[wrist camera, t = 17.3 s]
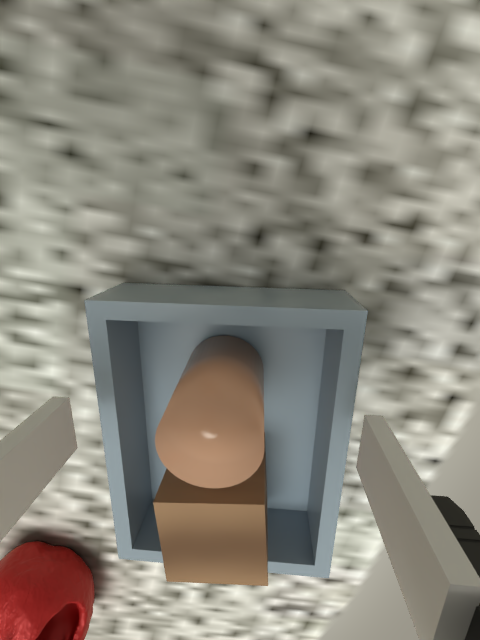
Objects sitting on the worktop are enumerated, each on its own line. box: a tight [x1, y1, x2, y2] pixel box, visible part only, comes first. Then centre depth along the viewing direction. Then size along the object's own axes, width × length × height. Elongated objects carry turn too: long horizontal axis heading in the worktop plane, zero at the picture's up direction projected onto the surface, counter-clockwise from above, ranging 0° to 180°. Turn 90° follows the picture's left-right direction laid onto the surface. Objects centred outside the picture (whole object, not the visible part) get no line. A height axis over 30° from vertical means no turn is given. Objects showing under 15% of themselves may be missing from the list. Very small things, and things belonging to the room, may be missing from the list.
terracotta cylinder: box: [155, 335, 265, 488], centre depth 18 cm, size 5×5×7 cm
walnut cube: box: [153, 432, 268, 586], centre depth 21 cm, size 6×6×6 cm
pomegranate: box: [0, 541, 95, 640], centre depth 25 cm, size 10×10×9 cm
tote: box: [84, 283, 368, 578], centre depth 21 cm, size 18×14×5 cm
